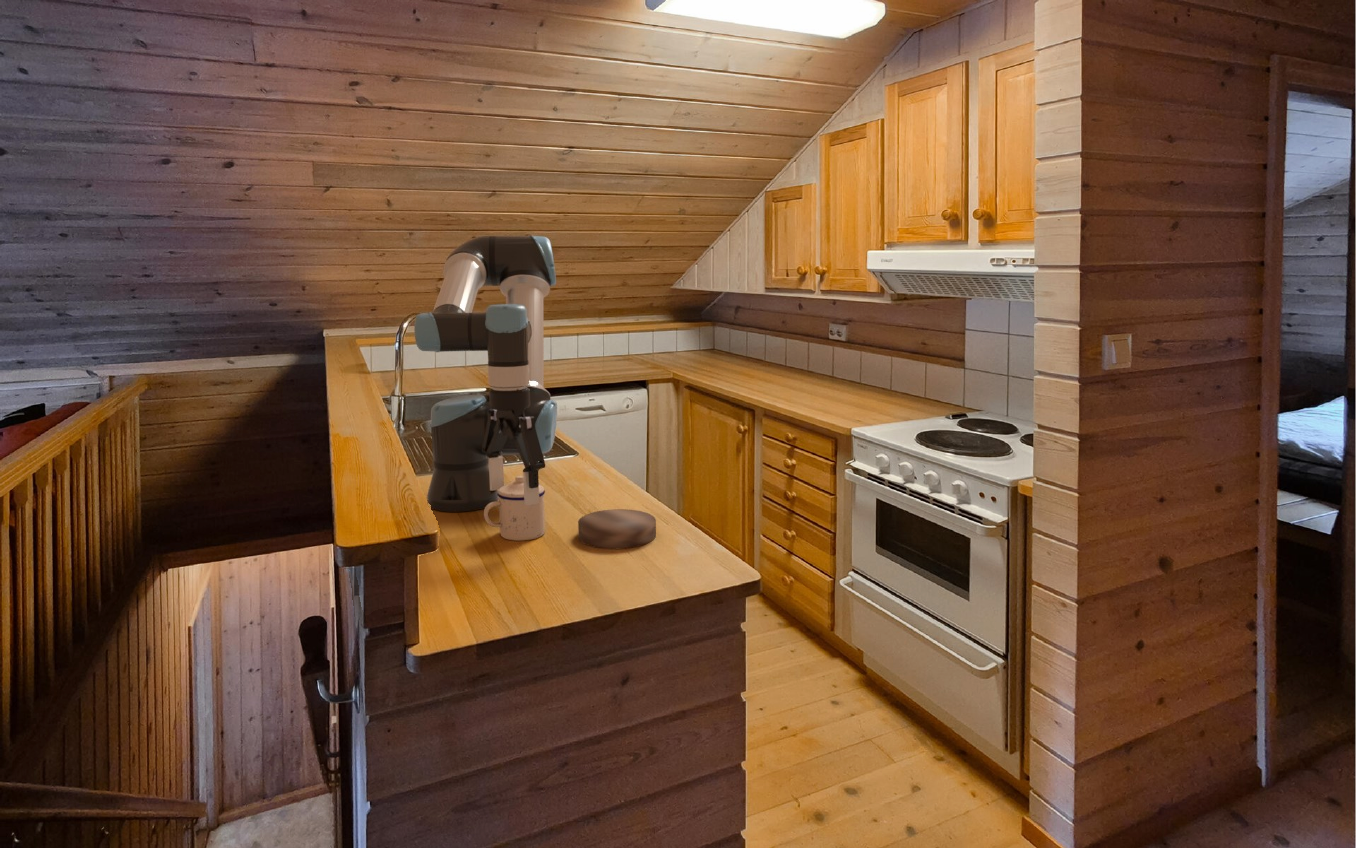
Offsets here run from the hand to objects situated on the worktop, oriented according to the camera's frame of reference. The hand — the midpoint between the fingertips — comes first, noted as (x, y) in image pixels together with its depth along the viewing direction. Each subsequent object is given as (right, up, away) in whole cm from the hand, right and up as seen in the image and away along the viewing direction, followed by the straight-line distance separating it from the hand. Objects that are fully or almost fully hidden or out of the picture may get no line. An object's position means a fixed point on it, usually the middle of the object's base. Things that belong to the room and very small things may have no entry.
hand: (513, 496), depth 164 cm
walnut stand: (+20, -8, +1) cm, 21 cm away
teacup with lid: (0, -8, +2) cm, 8 cm away
